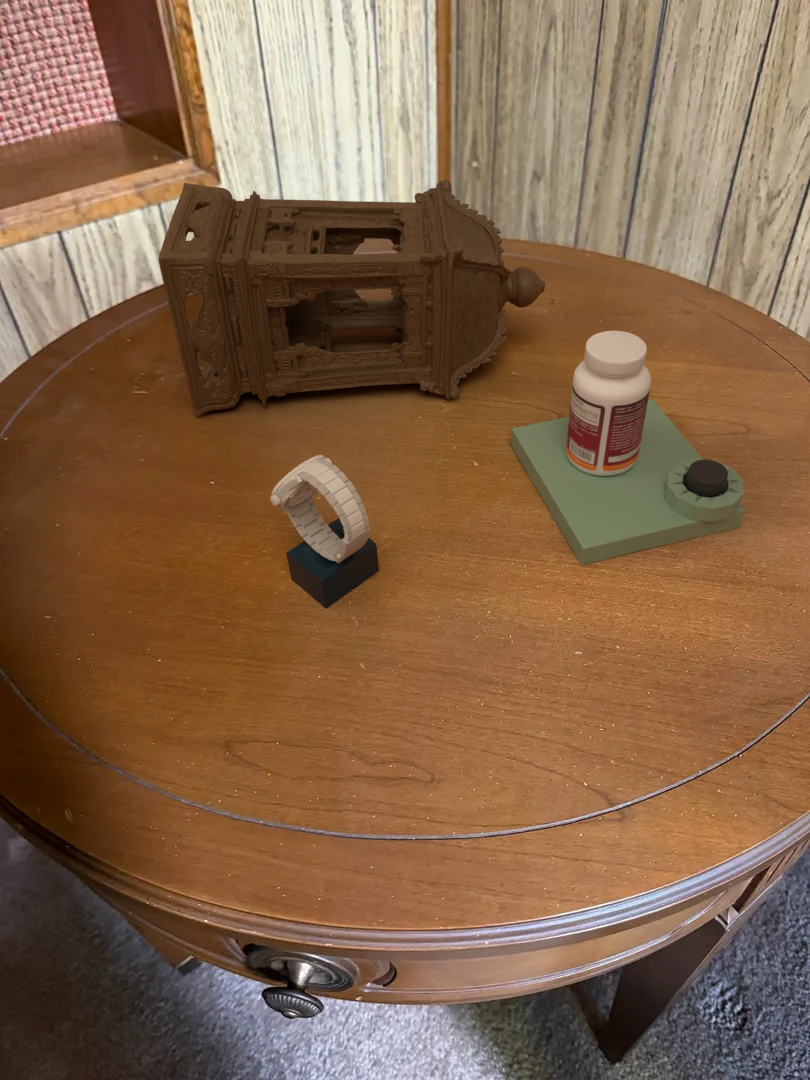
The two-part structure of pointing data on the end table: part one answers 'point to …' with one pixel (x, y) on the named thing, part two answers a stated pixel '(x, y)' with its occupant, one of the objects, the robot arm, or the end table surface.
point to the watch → (326, 531)
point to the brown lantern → (333, 292)
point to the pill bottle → (608, 404)
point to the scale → (626, 491)
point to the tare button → (706, 478)
